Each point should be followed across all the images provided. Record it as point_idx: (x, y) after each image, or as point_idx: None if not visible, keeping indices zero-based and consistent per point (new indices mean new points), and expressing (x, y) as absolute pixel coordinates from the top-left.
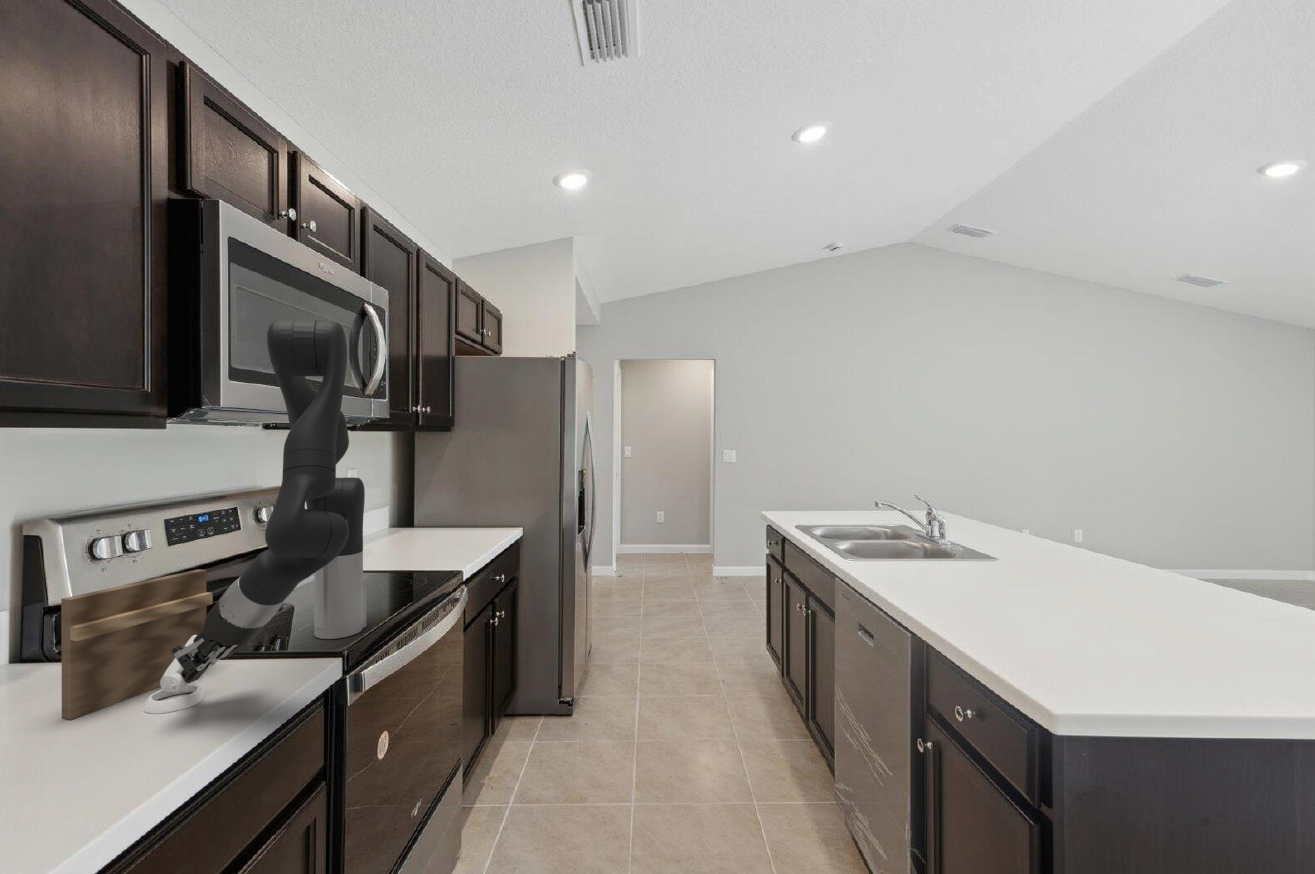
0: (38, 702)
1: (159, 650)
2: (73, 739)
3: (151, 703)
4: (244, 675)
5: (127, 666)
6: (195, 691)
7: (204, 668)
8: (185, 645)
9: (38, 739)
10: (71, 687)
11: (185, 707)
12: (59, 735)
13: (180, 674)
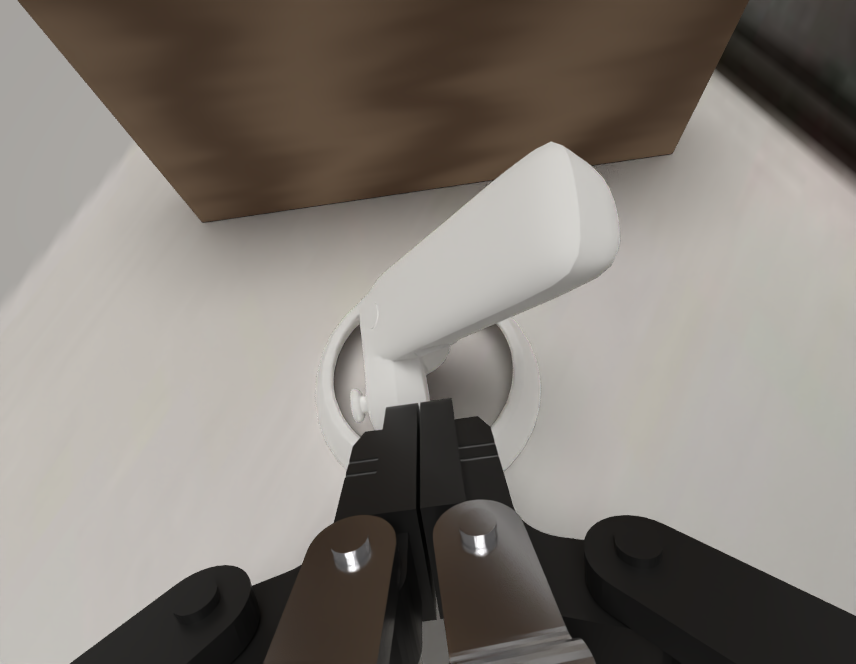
0: None
1: (488, 32)
2: (89, 388)
3: (319, 380)
4: (766, 352)
5: (341, 84)
6: None
7: (440, 613)
8: (471, 209)
9: (79, 286)
10: (126, 129)
11: None
12: (109, 311)
13: (363, 435)
